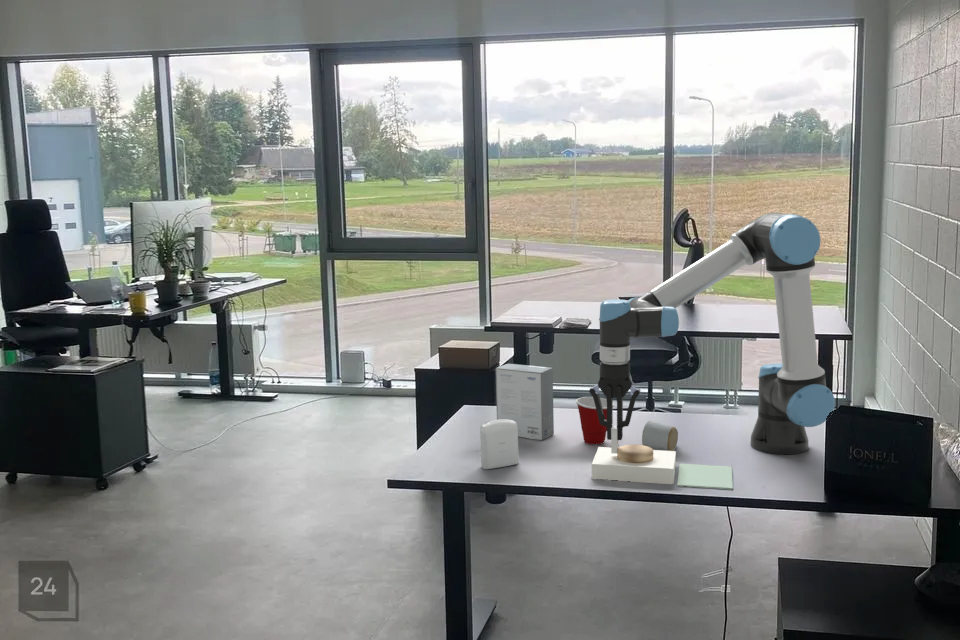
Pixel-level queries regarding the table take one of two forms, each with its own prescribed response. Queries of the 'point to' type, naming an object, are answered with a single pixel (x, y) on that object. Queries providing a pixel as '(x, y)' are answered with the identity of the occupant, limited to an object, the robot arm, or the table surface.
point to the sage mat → (705, 476)
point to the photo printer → (499, 444)
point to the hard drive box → (526, 399)
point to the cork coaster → (635, 453)
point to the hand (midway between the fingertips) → (614, 451)
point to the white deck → (635, 467)
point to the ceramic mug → (659, 436)
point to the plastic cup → (592, 420)
